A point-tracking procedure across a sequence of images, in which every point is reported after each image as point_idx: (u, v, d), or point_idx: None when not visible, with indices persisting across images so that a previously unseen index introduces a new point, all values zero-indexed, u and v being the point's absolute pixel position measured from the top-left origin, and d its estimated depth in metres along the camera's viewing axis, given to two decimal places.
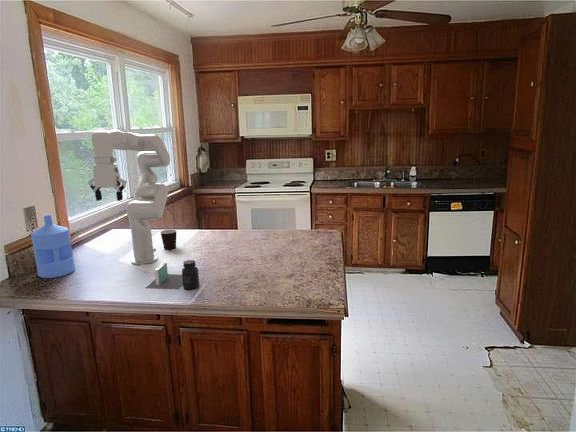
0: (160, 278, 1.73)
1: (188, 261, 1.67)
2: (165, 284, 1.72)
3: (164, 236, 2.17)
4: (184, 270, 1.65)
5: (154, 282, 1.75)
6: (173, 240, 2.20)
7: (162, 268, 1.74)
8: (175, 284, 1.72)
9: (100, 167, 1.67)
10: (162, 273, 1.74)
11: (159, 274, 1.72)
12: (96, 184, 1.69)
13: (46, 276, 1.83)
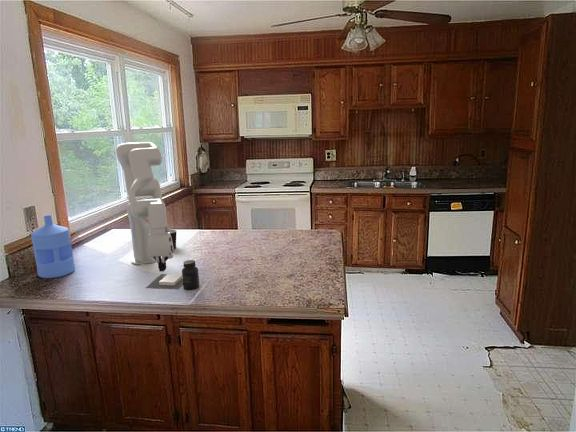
0: None
1: (188, 261, 1.67)
2: None
3: None
4: (184, 270, 1.65)
5: (154, 282, 1.75)
6: (173, 240, 2.20)
7: None
8: None
9: (155, 237, 1.69)
10: None
11: None
12: (150, 253, 1.71)
13: (46, 276, 1.83)
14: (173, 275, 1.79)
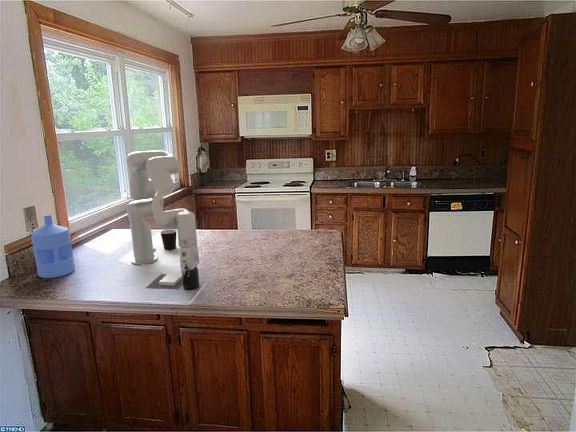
0: None
1: None
2: None
3: (164, 236, 2.17)
4: None
5: (154, 282, 1.75)
6: (173, 240, 2.20)
7: None
8: None
9: None
10: None
11: None
12: None
13: (46, 276, 1.83)
14: (173, 275, 1.79)
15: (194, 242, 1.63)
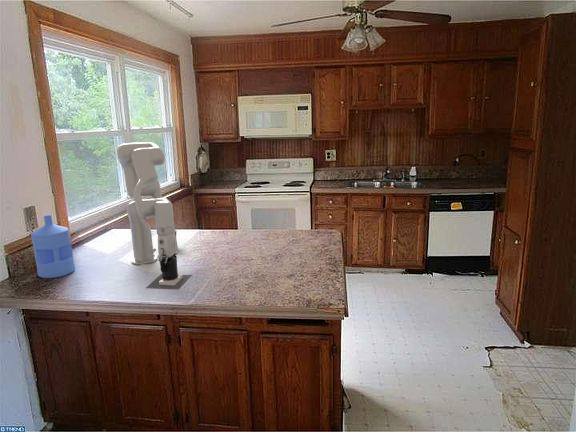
0: None
1: None
2: None
3: None
4: None
5: (154, 282, 1.75)
6: None
7: None
8: None
9: None
10: None
11: None
12: None
13: (46, 276, 1.83)
14: None
15: (172, 230, 1.68)
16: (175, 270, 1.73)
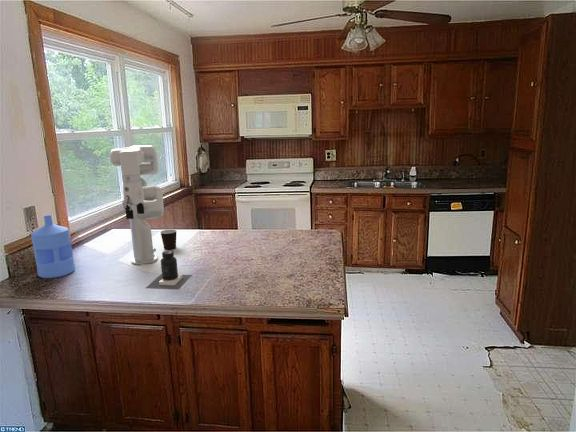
0: None
1: (167, 251, 1.73)
2: None
3: (164, 236, 2.17)
4: (163, 260, 1.71)
5: (154, 282, 1.75)
6: (173, 240, 2.20)
7: None
8: None
9: None
10: None
11: None
12: None
13: (46, 276, 1.83)
14: None
15: (137, 178, 1.73)
16: (175, 270, 1.73)
